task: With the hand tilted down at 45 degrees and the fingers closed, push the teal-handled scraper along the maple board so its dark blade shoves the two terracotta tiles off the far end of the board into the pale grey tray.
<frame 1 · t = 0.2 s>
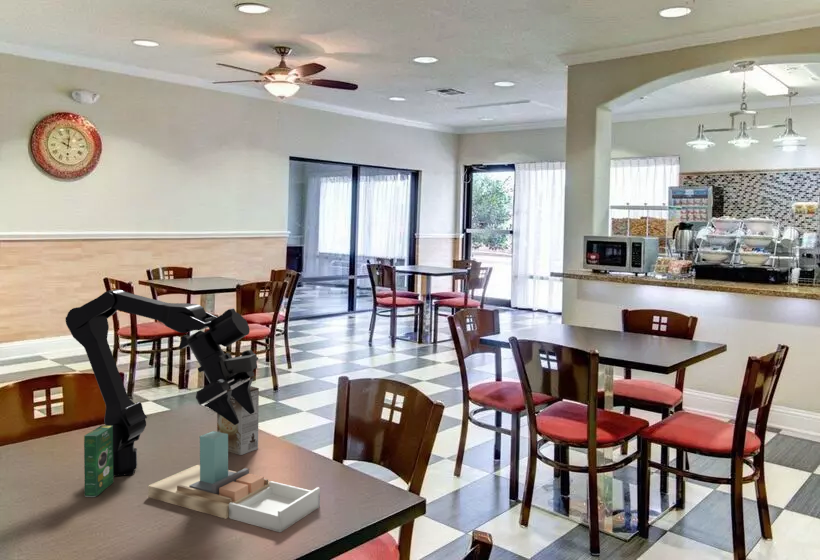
hand: (245, 418, 145), 15 cm above the table, tool tilted 30°, fingers open, 9 cm apart
tray: (275, 512, 132), on the table
coffee box: (237, 449, 169), on the table
scraper: (219, 460, 138), point 8 cm above the table, slide at 0.0 cm
tile a: (250, 487, 138), point 2 cm above the table, touching board
coffee box 2: (99, 490, 141), on the table
tile b: (233, 496, 133), point 2 cm above the table, touching board
board: (210, 495, 140), on the table
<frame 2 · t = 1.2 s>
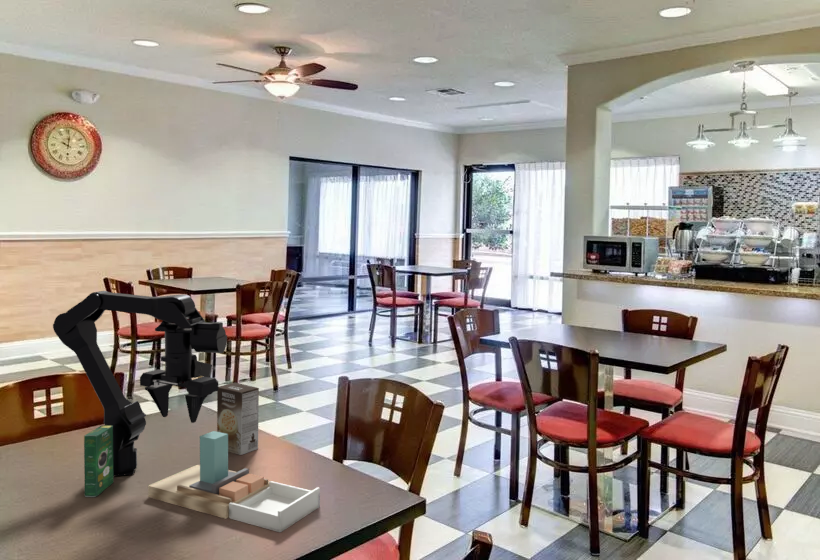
hand: (179, 419, 149), 13 cm above the table, tool pointing down, fingers open, 8 cm apart
nothing on the table moved.
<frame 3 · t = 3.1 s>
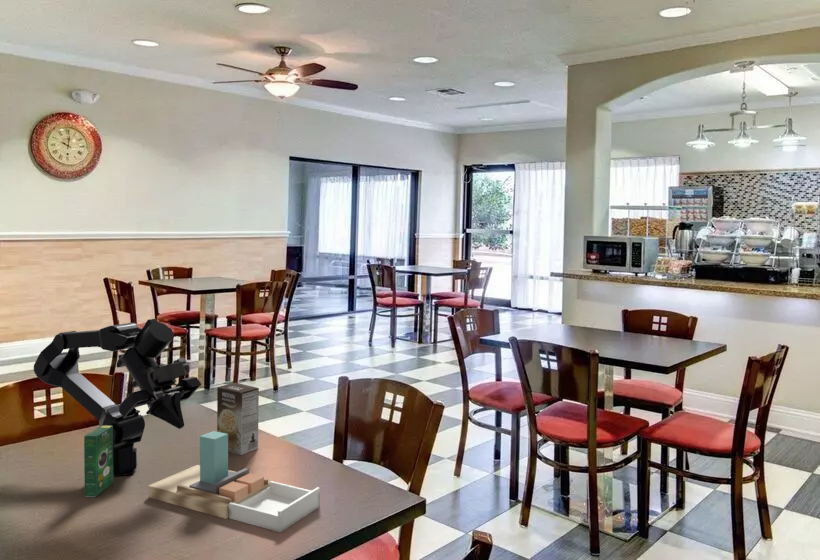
hand: (182, 427, 142), 13 cm above the table, tool tilted 45°, fingers closed
nothing on the table moved.
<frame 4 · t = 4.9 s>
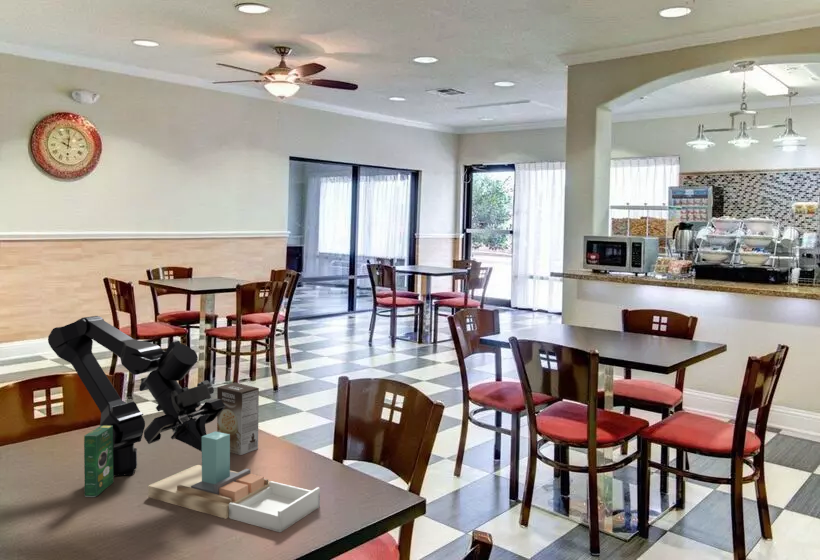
hand: (207, 451, 139), 9 cm above the table, tool tilted 45°, fingers closed, pressing on scraper
scraper: (221, 461, 138), point 8 cm above the table, slide at 0.5 cm, touching gripper
everything else where it was.
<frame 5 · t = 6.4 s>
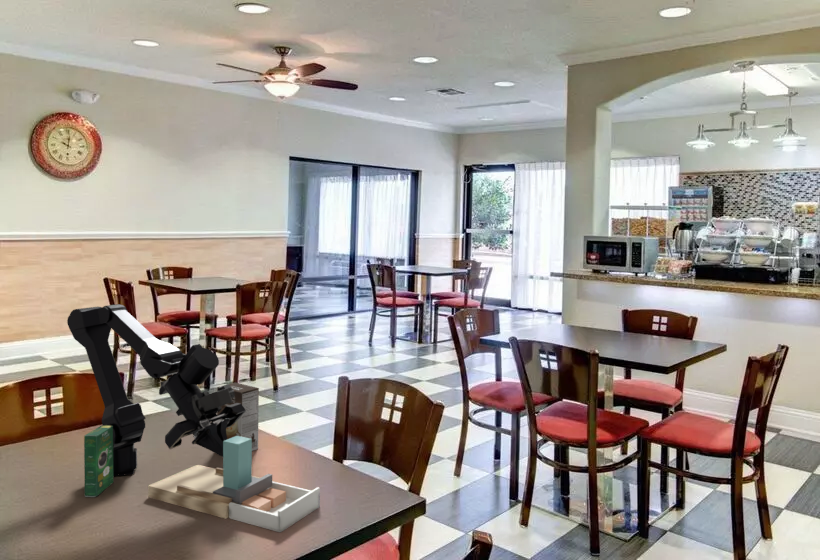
hand: (228, 457, 137), 9 cm above the table, tool tilted 45°, fingers closed, pressing on scraper
scraper: (243, 466, 135), point 8 cm above the table, slide at 6.3 cm, touching gripper, tile b
tile a: (271, 502, 136), resting on tray
tile b: (255, 510, 131), point 1 cm above the table, touching scraper, tray
everything else where it was.
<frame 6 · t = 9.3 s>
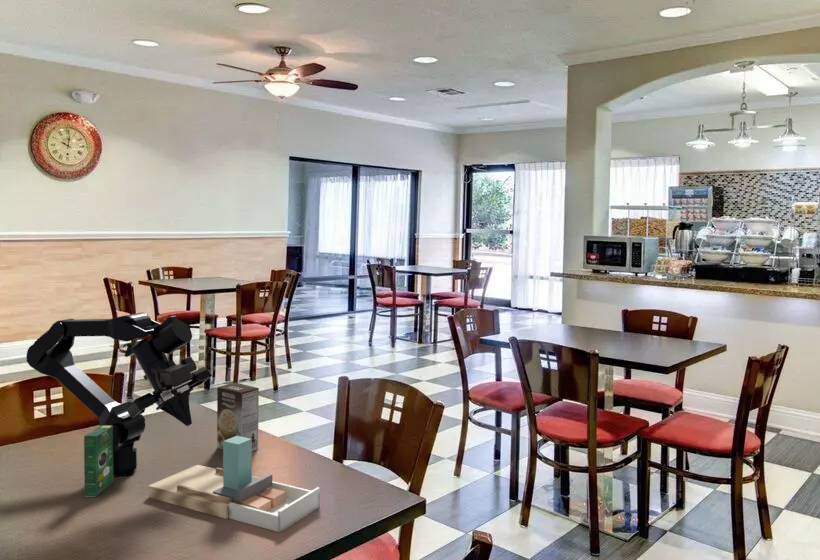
hand: (189, 425, 146), 13 cm above the table, tool tilted 35°, fingers closed
scraper: (243, 466, 135), point 8 cm above the table, slide at 6.3 cm, touching tile b
everything else where it was.
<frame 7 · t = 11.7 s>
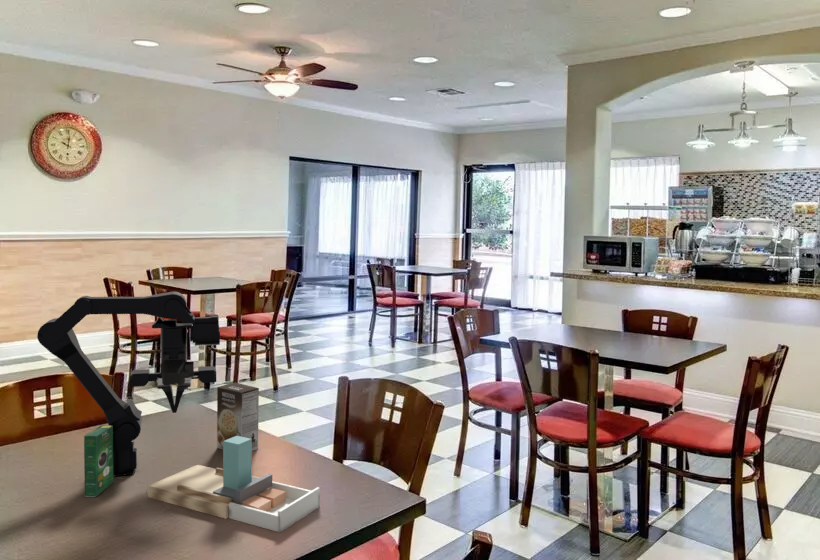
hand: (174, 412, 155), 13 cm above the table, tool pointing down, fingers closed
nothing on the table moved.
at the end: scraper slide at 6.3 cm; tile a inside the target area on the tray (3.8 cm from its centre), point 0.5 cm above the tray's base; tile b inside the target area on the tray (3.8 cm from its centre), point 0.6 cm above the tray's base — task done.
